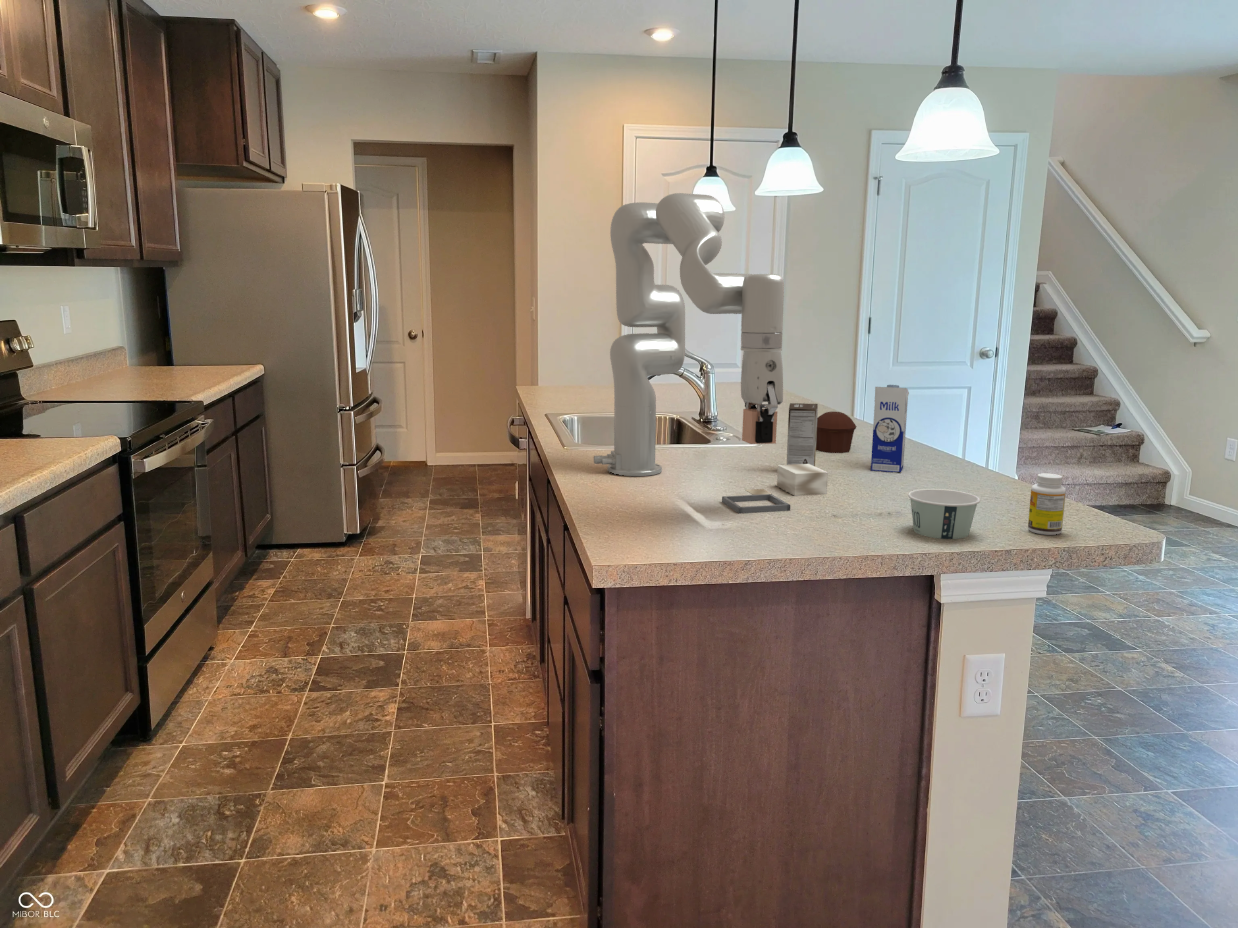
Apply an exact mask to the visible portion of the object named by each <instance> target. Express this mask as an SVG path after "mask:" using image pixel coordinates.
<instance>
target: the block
mask: <svg viewBox="0 0 1238 928" xmlns="http://www.w3.org/2000/svg"><path fill="white" fill-rule="evenodd" d="M764 409H765V408H762V412H763V411H764ZM756 421H758V413H757V409H746V408H743V411H742V431H741V435H742V436H741V441H742V442H745V443H748V444H749V445H766V444H767V445H769V444H772V445H773V444H777V431H778V430H777V425H778V411H777V410H776V411H775V414H774V421H773V441H772V442H771V443H756V442H755V433H756Z"/></svg>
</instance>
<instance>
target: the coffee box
mask: <svg viewBox="0 0 1238 928" xmlns="http://www.w3.org/2000/svg"><path fill="white" fill-rule="evenodd" d="M818 406H819V405H818V403H805V402H804V403H798V402H797V403H796V402H795V403H794V402H792V403H791V402H790V403H789V406H788V418H787V419H788V420H787V425H788V427H787V442H786V444H787V445H786V448H787V449H786V465H792V464H810V465H813V466H815V467H816V455H817V454H816V453H817V450H816V438H817V418H818V413H819V412H818V411H819V409H818Z"/></svg>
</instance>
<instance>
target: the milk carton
mask: <svg viewBox="0 0 1238 928" xmlns="http://www.w3.org/2000/svg"><path fill="white" fill-rule="evenodd" d="M874 389H875V390H874V407H873V408H874V409H873V425H872V428H873V429H872V440H871V441H872V443H871V459H870V460H871V461H870V472H880V471H881V473H893V472H901V473H902V471H903V469H904V461H905V447H906V446H905V445H906V430H907V417H908V416H907V415H908V404H909V403H908V402H909V401H908V400H909V395H910V392H909V389H908V388H907V387H900V385H897V384H887V385H886V386H875V387H874Z"/></svg>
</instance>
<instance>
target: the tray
mask: <svg viewBox="0 0 1238 928" xmlns="http://www.w3.org/2000/svg"><path fill="white" fill-rule="evenodd" d="M761 501H762V502H763V501H770V502H772V503H773V504H767V505H748V506H741V505H739V504H737V503H743V502H761ZM721 502H722V503H723V504H724V505H725V506H727V507H729V508H730V509H732V510H733V511H734V512H736V513H737V514H752V513H755V514H756V513H757V514H758V513H771V512H772V513H773V512H774V513H775V512H789V511H791V504H789V503H788V502H786V501H784V500H783V499H781V498H779V497H777V496H776V495H774V494H773V493H772V494H761V495H752V494H746V495H745V494H743V495H728V496H727V495H726V496H721Z"/></svg>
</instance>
